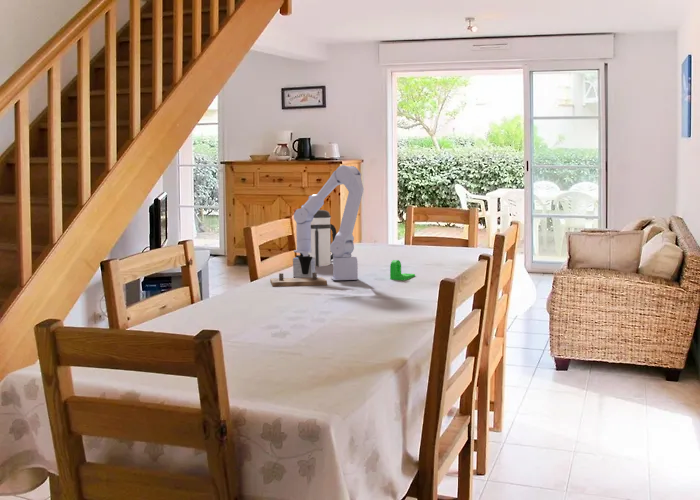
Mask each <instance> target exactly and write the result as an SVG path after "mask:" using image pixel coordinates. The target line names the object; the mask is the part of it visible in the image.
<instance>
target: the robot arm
mask: <svg viewBox="0 0 700 500" xmlns="http://www.w3.org/2000/svg"><path fill="white" fill-rule="evenodd" d="M362 181H363V180H362V173H361V171H360V170H359V169H358V168H357V167H356V166H354V165H351V166H350V165H346V164H345V165H344V164H343V165H339V166H338V167H337V168H336V170H334V171H333V172H332V174H331V175H330V177H329V178H328V179H327V181H326V182H325V183H324V185H323V186H322V187H321V188H320V189H319V191H318V192H317V193H316V194H312V195H309V196H308V199H307V200H306V201H305V203H304V204H302V205H301V206H300V207H301V208H297V209H295V212H294V213H293V220H294V221H295V222H296V249H294V250H293V252H294V253H296V254H297V255H295V258H296V257H298V258H299V261H300V264H301V269H302V274H308V272H309V266H310V262H311V260H312V257H310V255H309V254H308V253H311V252H312V250H311V222H312V220H313V217H314V215H315V214H316V212H317V211H318V210H321V208H322V207H323V205H325V199H326V198H327V197H328V196H329V194H331V192H333V191H334V189H336V188H337V187H338V186H341V185H343V186H344V187H345V188H346V190H347V191H348V192H347V198H346V202H345V205H344V209H343V213H342V217H341V222H340V226H339V229H338V232H336V233H337V234H336V236H335V239H334V241H333V240H332V241H331V245H330V254H331V255H332V254H333V259H332V272H333V273H332V277H330V279H331V280H333V281H353V280H354V281H355V280H356V281H357V280H359V277H358V276H359V275H358V274H359V273H358V269H359V268H358V267H359V266H358V265H359V264H358V257H357V256H353V255H352V253H353V252H354V250H355V244H354V240H355V236H354V235H353V233H354V229H355V224H356V221H357V218H358V213H359V209H360V206H361V205H360V204H361V201H362V197H363V193H364V186H363V182H362Z"/></svg>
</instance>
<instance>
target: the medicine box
mask: <svg viewBox="0 0 700 500" xmlns="http://www.w3.org/2000/svg"><path fill="white" fill-rule="evenodd" d="M313 273H316V266H315V258H312V260H311V262H310V266H309V272H308V274H302V269H301V264H300V261H299V258H298V257H296V256H295V257H293V259H292V274H293V275H292V276H293V277H292V278H294V277H295V278H313Z"/></svg>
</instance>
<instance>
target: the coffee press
mask: <svg viewBox="0 0 700 500" xmlns="http://www.w3.org/2000/svg"><path fill="white" fill-rule="evenodd" d="M331 218H332V215H331V214H330V212H329V211H328V210H325V209H319V210H318V211H317V212H316V214H315V215H314V217H313V220H312V222H311V250H312V252H311V253H308V254H309V255H310V257H312V258H315V267H316V266H319V267H326V266H330V265H332V261H333V254H332V253H331V250H330V246H331V243H332V242H333V241H334V239H335V236H336V234H337V233H338V232H337V229H336V227H335V225H334V224H331ZM331 236H332V237H331Z"/></svg>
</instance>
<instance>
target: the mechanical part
mask: <svg viewBox="0 0 700 500" xmlns="http://www.w3.org/2000/svg"><path fill="white" fill-rule="evenodd" d="M401 263H402V262H401V261H400V260H398V259H393V260H391V262H390V265H389V266H390V267H389V269H390V270H389V271H390V272H389V277H390V278H389V279H390V280H395V281H396V280H397V281H407V280H409V279H412V278H414V277H415V276H416V273H406V272H404V273H402V264H401Z"/></svg>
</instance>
